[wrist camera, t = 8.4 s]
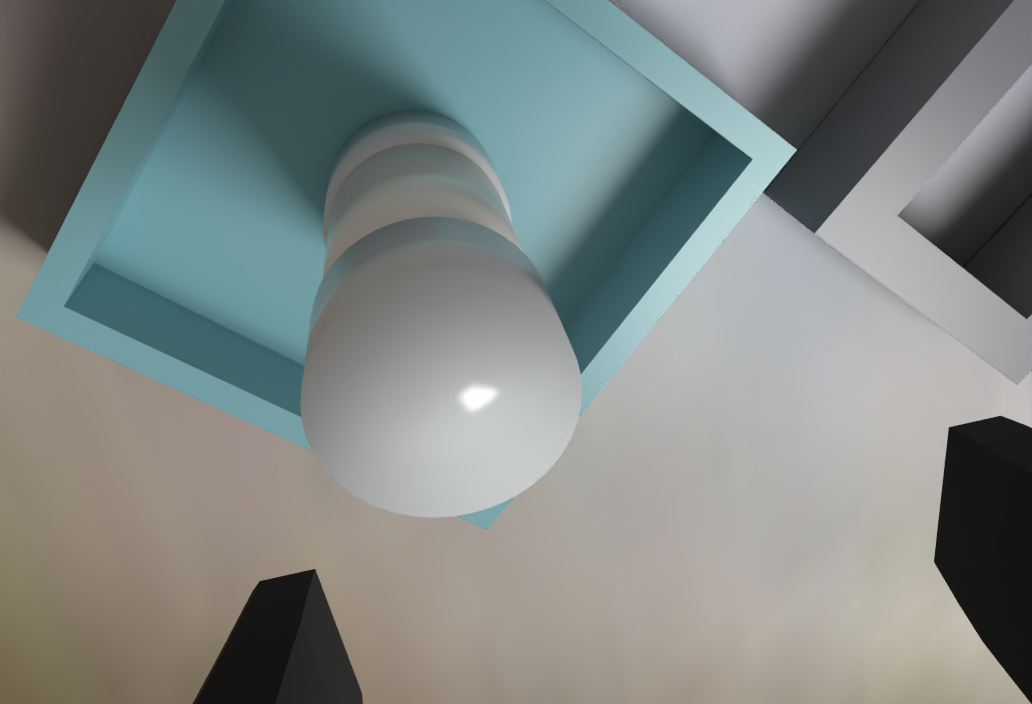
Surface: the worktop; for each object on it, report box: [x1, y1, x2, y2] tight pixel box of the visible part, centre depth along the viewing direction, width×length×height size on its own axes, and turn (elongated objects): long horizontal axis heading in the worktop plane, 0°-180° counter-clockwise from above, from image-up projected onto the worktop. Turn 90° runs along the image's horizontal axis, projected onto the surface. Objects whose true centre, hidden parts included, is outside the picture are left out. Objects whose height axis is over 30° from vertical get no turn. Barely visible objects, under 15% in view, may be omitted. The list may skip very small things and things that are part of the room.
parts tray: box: [16, 0, 797, 530], centre depth 17 cm, size 10×10×2 cm
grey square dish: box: [764, 0, 1032, 384], centre depth 18 cm, size 7×7×2 cm
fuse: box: [300, 110, 582, 517], centre depth 14 cm, size 3×3×8 cm
